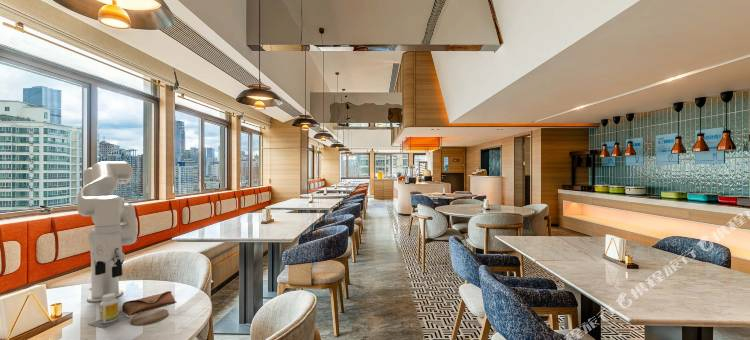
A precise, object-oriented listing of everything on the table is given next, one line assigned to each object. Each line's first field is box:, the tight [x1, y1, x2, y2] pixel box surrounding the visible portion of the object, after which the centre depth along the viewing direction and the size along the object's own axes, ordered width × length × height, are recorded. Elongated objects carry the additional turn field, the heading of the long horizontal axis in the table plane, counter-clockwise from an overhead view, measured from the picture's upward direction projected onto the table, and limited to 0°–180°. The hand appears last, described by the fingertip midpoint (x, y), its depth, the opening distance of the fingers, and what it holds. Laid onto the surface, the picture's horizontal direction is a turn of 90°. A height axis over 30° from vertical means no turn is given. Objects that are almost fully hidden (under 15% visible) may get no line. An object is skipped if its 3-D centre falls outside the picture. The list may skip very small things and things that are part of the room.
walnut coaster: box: [129, 308, 169, 326], centre depth 125 cm, size 12×12×1 cm
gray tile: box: [87, 314, 131, 329], centre depth 123 cm, size 9×9×1 cm
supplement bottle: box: [99, 293, 119, 323], centre depth 123 cm, size 5×5×10 cm
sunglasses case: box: [121, 290, 177, 317], centre depth 136 cm, size 18×7×7 cm
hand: (108, 275), depth 123 cm, fingers open, 9 cm apart
